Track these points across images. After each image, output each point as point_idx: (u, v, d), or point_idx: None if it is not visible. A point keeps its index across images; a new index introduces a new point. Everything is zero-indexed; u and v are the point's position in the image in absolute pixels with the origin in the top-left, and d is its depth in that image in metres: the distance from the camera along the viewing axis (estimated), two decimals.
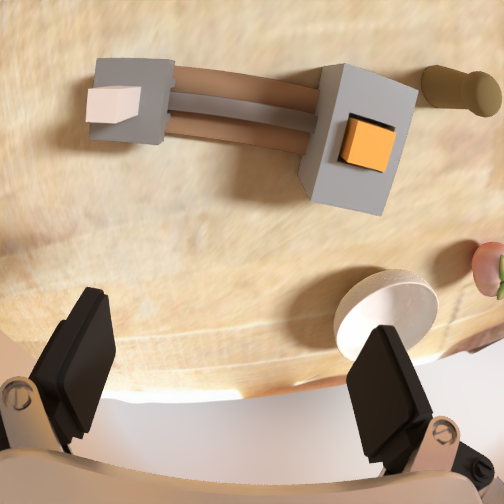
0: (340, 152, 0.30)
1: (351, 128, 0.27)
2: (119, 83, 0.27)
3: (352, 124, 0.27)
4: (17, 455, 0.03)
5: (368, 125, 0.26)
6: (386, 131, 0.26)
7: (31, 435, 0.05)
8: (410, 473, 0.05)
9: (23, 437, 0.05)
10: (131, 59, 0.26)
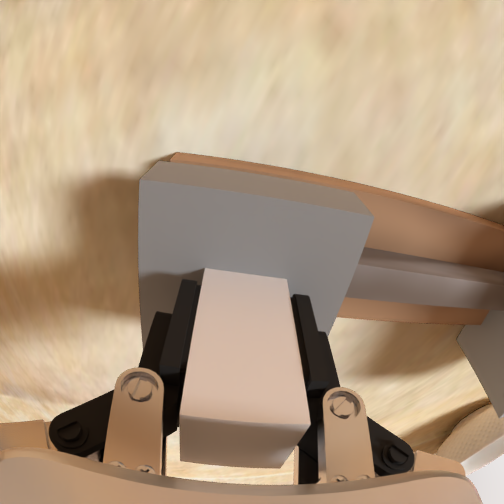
0: None
1: None
2: (222, 264, 0.11)
3: None
4: (17, 455, 0.03)
5: None
6: None
7: (136, 429, 0.06)
8: (410, 473, 0.05)
9: (127, 427, 0.06)
10: (261, 200, 0.10)
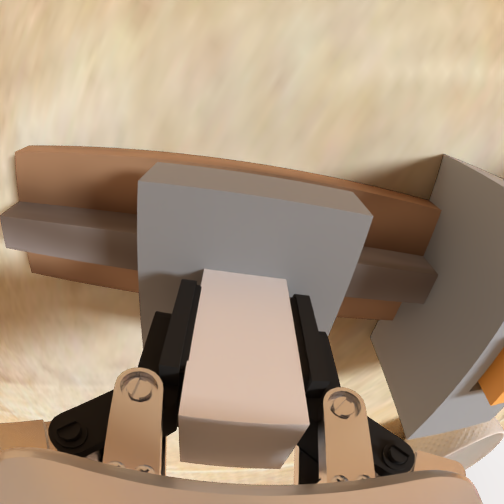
0: None
1: None
2: (221, 265, 0.11)
3: None
4: (17, 455, 0.03)
5: None
6: None
7: (135, 429, 0.06)
8: (410, 473, 0.05)
9: (126, 427, 0.06)
10: (259, 200, 0.10)
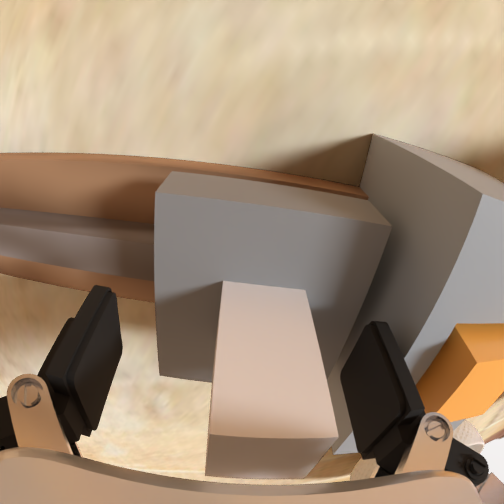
0: None
1: (449, 356, 0.10)
2: (240, 277, 0.11)
3: (454, 348, 0.10)
4: (17, 455, 0.03)
5: (493, 363, 0.08)
6: None
7: (39, 433, 0.05)
8: (410, 473, 0.05)
9: (31, 434, 0.05)
10: (280, 212, 0.10)
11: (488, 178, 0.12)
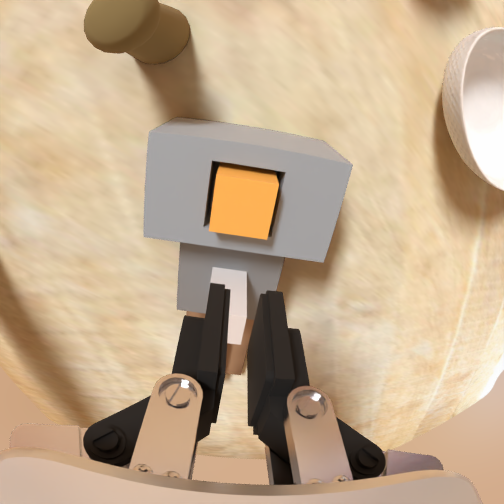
0: None
1: None
2: (207, 288, 0.29)
3: None
4: (17, 455, 0.03)
5: (212, 217, 0.21)
6: (216, 191, 0.20)
7: (169, 435, 0.06)
8: (410, 473, 0.05)
9: (160, 432, 0.06)
10: (179, 276, 0.28)
11: None
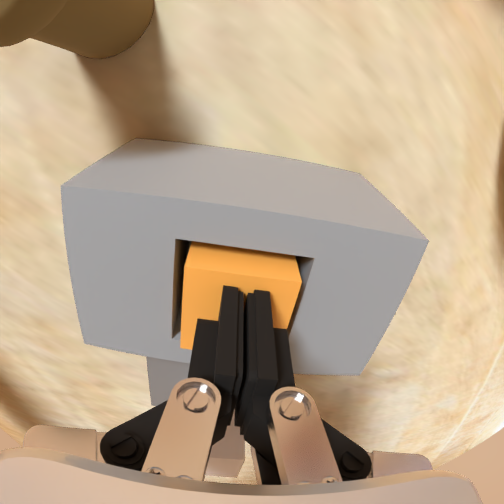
0: None
1: None
2: None
3: None
4: (17, 455, 0.03)
5: (184, 331, 0.12)
6: (186, 292, 0.11)
7: (184, 439, 0.06)
8: (410, 473, 0.05)
9: (175, 435, 0.06)
10: (150, 373, 0.19)
11: None
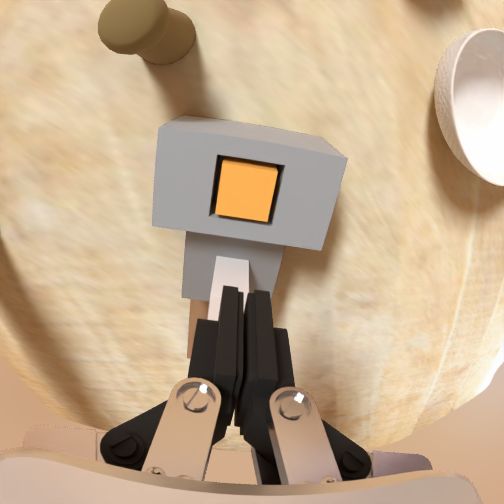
0: None
1: None
2: (211, 276, 0.31)
3: None
4: (17, 455, 0.03)
5: (218, 201, 0.24)
6: (222, 177, 0.23)
7: (184, 439, 0.06)
8: (410, 473, 0.05)
9: (175, 436, 0.06)
10: (185, 264, 0.30)
11: None
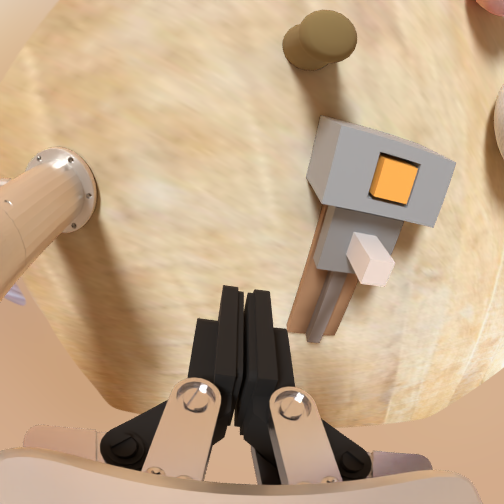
0: None
1: None
2: (345, 249, 0.37)
3: None
4: (17, 455, 0.03)
5: (378, 186, 0.29)
6: (383, 169, 0.29)
7: (184, 439, 0.06)
8: (410, 473, 0.05)
9: (175, 436, 0.06)
10: (327, 239, 0.36)
11: (322, 140, 0.33)
